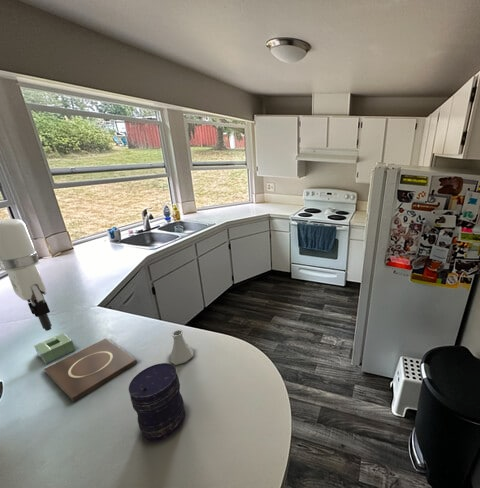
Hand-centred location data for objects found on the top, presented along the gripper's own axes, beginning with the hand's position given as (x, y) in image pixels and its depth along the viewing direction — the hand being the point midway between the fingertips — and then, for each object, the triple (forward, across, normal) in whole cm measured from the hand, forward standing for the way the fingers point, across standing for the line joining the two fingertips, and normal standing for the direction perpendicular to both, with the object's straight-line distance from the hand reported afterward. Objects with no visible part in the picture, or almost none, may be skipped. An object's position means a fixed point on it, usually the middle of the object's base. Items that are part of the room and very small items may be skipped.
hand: (41, 312), depth 80 cm
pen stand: (+16, 0, 0) cm, 16 cm away
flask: (+16, +38, +20) cm, 46 cm away
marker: (+7, 0, 0) cm, 7 cm away
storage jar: (+16, +55, +4) cm, 57 cm away
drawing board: (+16, +18, +3) cm, 24 cm away
